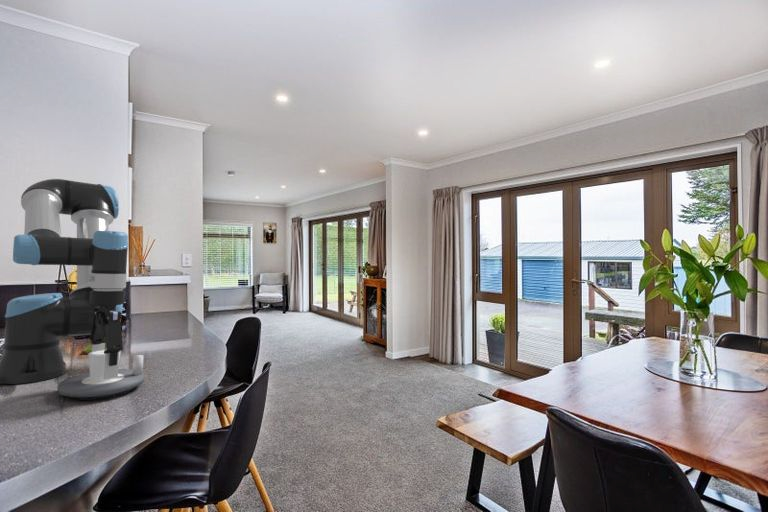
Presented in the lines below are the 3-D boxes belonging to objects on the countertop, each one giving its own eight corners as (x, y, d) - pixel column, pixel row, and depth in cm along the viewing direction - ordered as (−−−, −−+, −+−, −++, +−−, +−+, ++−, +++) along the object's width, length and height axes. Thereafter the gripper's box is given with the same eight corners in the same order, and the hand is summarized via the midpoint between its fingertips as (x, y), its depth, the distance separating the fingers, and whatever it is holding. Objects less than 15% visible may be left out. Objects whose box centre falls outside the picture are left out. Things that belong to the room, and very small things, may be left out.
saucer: (82, 355, 132) (83, 349, 132) (89, 350, 139) (89, 344, 139) (113, 354, 135) (113, 348, 136) (117, 348, 143) (117, 343, 143)
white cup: (106, 383, 95) (108, 355, 95) (79, 382, 95) (81, 354, 95) (125, 375, 102) (127, 349, 102) (100, 374, 102) (102, 348, 102)
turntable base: (56, 397, 92) (56, 392, 92) (100, 381, 105) (100, 376, 105) (106, 401, 91) (106, 395, 91) (144, 384, 104) (144, 379, 104)
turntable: (57, 381, 99) (59, 357, 99) (138, 371, 111) (139, 349, 111) (57, 402, 85) (59, 374, 86) (149, 387, 97) (150, 362, 97)
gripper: (78, 286, 103) (74, 366, 103) (104, 293, 88) (99, 386, 88) (111, 286, 109) (107, 361, 109) (140, 292, 94) (136, 380, 94)
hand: (103, 373), depth 98 cm, fingers open, 11 cm apart
